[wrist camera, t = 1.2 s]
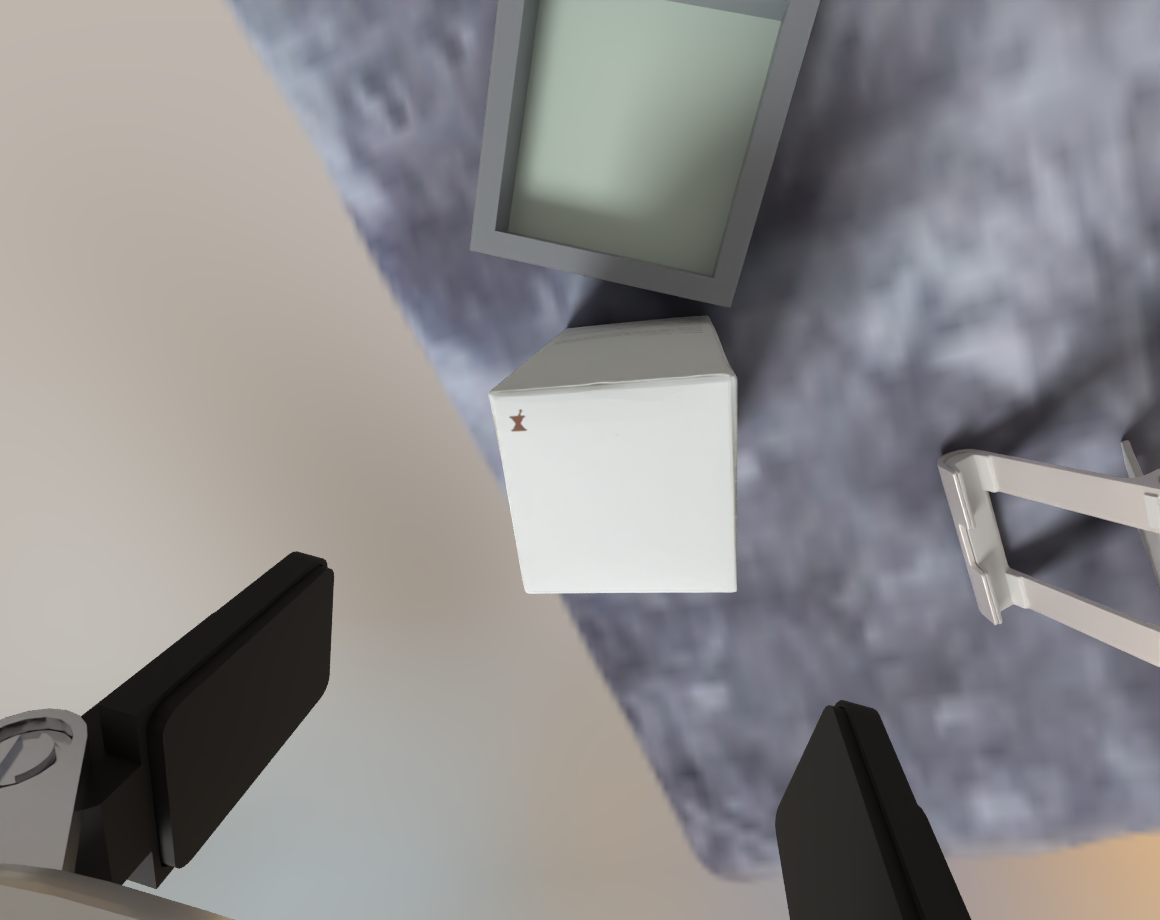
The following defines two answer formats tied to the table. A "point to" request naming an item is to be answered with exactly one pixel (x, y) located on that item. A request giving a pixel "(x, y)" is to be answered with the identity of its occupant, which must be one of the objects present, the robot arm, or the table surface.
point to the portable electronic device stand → (1133, 501)
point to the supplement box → (623, 459)
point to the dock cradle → (636, 136)
